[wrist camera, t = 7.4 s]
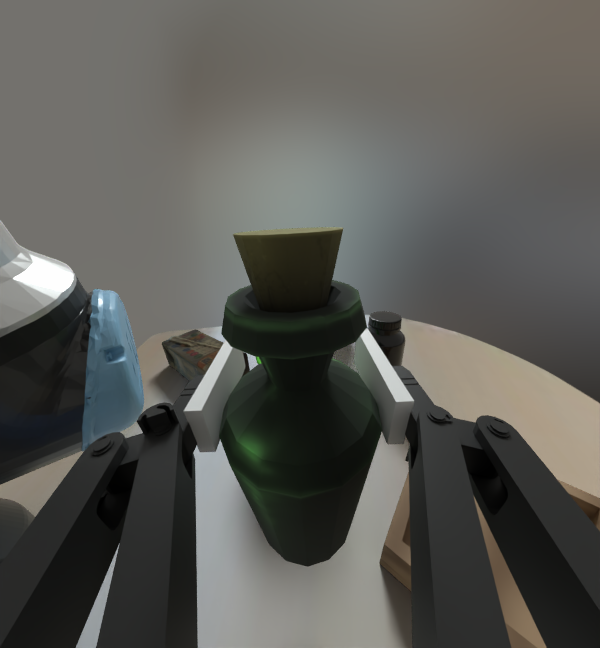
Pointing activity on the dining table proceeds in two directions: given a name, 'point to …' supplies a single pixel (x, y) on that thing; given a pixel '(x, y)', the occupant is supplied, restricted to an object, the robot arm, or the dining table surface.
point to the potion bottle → (298, 393)
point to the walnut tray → (516, 614)
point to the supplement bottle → (388, 335)
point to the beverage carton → (194, 353)
